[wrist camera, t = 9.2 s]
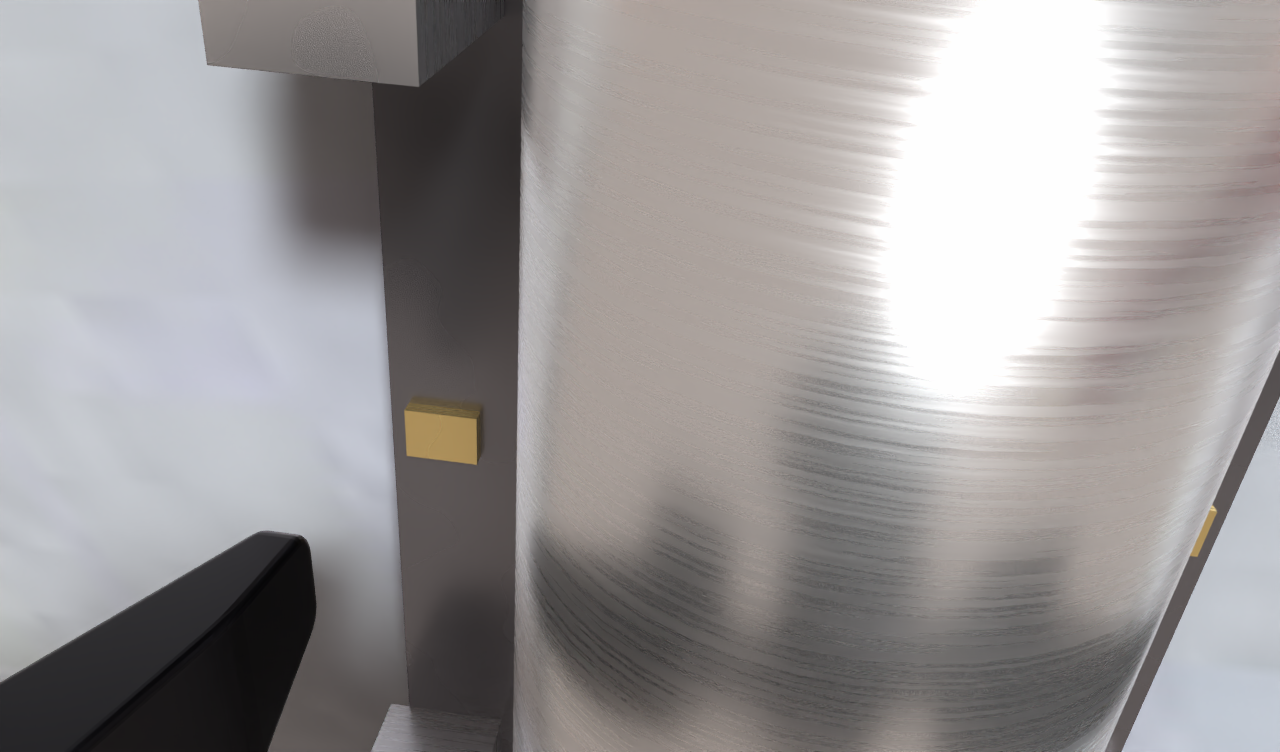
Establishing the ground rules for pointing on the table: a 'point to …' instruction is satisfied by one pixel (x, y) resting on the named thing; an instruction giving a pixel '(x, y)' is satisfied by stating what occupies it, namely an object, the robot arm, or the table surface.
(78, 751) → the robot arm
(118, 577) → the table surface
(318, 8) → the cradle
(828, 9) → the tube
